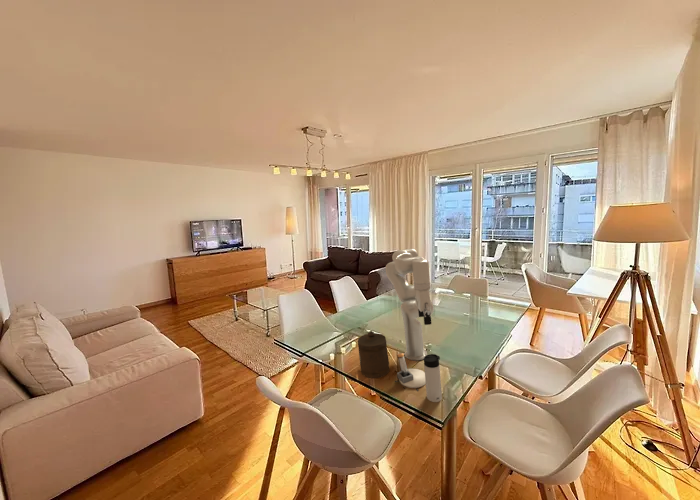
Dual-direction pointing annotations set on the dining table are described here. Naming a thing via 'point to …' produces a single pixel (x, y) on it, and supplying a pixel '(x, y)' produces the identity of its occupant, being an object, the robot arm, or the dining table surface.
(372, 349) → the wooden container
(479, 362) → the dining table surface
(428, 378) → the travel mug
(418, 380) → the dial
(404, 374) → the peg
